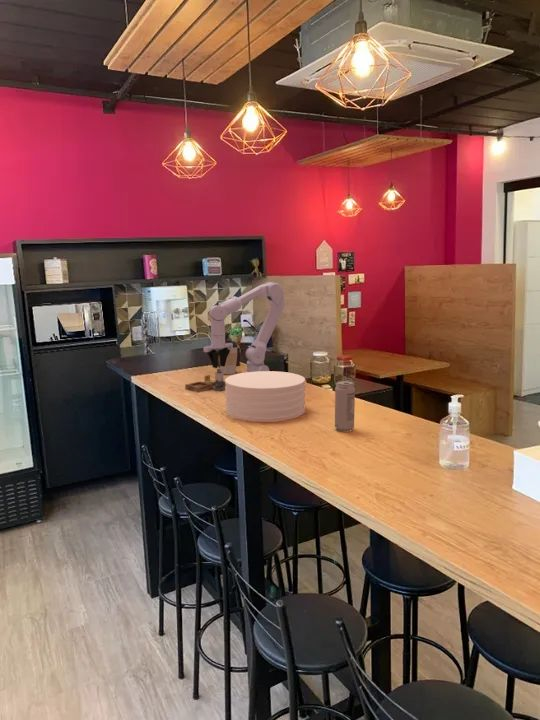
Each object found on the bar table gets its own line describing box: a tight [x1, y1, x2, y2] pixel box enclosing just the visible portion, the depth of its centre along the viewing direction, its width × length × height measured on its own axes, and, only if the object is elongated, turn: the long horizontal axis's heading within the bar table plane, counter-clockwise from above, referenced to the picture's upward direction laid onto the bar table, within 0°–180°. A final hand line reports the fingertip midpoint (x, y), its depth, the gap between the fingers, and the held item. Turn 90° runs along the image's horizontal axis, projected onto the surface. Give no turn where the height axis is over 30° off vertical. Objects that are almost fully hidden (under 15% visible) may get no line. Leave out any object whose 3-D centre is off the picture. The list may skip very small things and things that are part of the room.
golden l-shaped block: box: [203, 374, 215, 386], centre depth 237 cm, size 6×2×4 cm, turn 47°
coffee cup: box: [219, 340, 239, 375], centre depth 260 cm, size 9×9×15 cm
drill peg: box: [214, 368, 224, 387], centre depth 233 cm, size 3×3×8 cm
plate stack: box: [224, 370, 306, 423], centre depth 196 cm, size 28×28×12 cm
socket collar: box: [210, 380, 226, 392], centre depth 234 cm, size 12×12×1 cm
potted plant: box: [216, 331, 241, 368], centre depth 277 cm, size 16×11×18 cm
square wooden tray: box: [184, 380, 213, 393], centre depth 229 cm, size 8×8×2 cm
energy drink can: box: [334, 380, 356, 432], centre depth 173 cm, size 6×6×15 cm
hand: (218, 367), depth 232 cm, fingers open, 4 cm apart
